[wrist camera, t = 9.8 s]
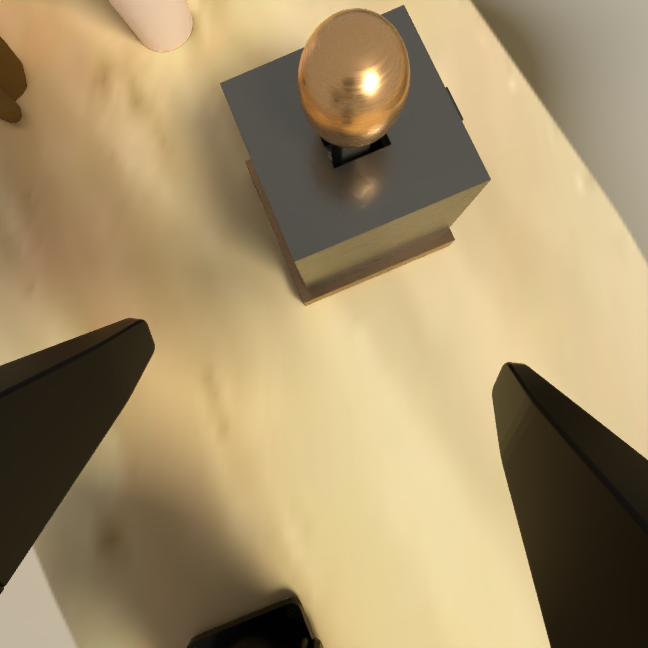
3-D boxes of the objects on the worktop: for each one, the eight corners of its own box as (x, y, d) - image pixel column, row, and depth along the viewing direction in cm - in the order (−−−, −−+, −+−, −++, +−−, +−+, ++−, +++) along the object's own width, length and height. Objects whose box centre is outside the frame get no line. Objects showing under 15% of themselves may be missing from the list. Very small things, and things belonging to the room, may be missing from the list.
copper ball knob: (319, 263, 18) (296, 166, 9) (279, 171, 18) (218, -14, 9) (417, 222, 18) (502, 79, 9) (374, 130, 18) (410, -97, 9)
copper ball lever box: (305, 305, 19) (287, 279, 12) (250, 171, 20) (204, 78, 13) (453, 243, 19) (516, 182, 12) (391, 111, 20) (417, -14, 13)
